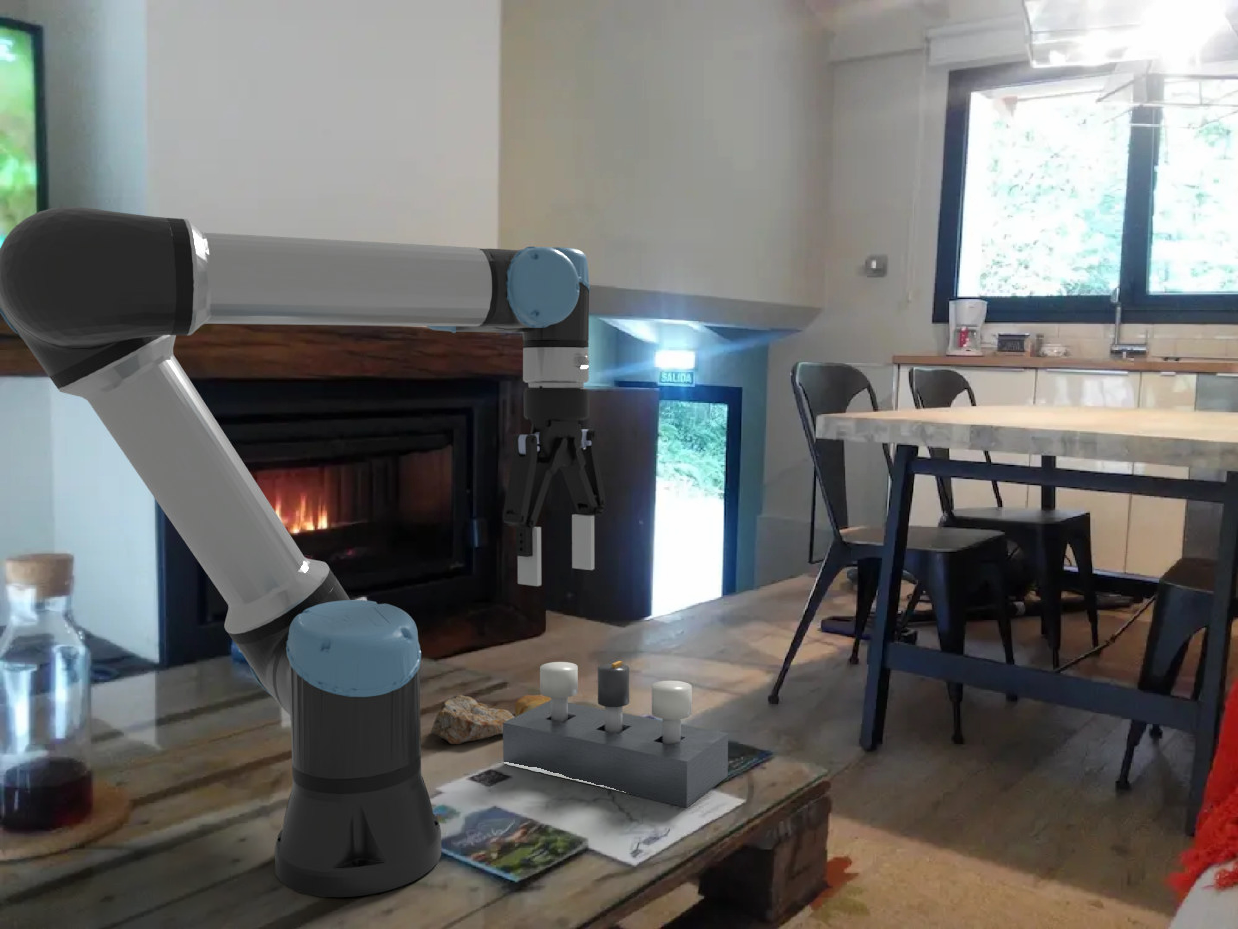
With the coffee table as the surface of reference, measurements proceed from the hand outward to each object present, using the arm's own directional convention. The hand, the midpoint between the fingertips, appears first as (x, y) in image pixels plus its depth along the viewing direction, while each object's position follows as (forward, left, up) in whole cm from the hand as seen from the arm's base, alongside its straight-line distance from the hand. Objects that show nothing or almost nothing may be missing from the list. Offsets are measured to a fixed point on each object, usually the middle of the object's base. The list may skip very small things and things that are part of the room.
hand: (557, 576), depth 123 cm
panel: (0, -8, -22) cm, 23 cm away
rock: (+1, +14, -22) cm, 26 cm away
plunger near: (0, -15, -18) cm, 24 cm away
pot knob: (0, -8, -18) cm, 20 cm away
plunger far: (0, 0, -18) cm, 18 cm away
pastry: (+10, +10, -22) cm, 26 cm away
